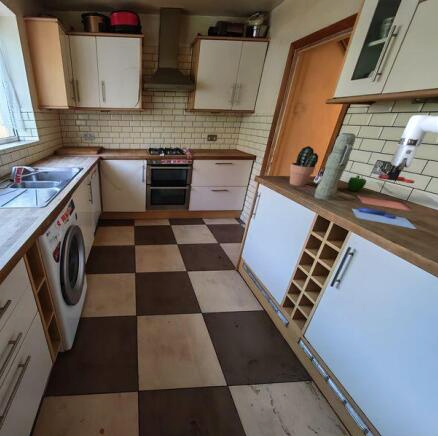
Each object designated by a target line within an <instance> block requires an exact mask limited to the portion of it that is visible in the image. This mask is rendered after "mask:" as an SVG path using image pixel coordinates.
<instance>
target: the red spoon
mask: <svg viewBox="0 0 438 436" xmlns="http://www.w3.org/2000/svg"><path fill="white" fill-rule="evenodd" d="M388 177H389V175H388V174H379V175H378V179H380V180H387V181H389V180H388ZM395 182H401V183H406V184H414V183H415V180H413V179H409V178H405V177H404V176H398V178H397V180H396V181H395Z"/></svg>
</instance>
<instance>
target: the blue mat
mask: <svg viewBox="0 0 438 436" xmlns="http://www.w3.org/2000/svg"><path fill="white" fill-rule="evenodd" d="M351 210H352V212H353V214H354V215H355V217H356V219H362V220H367V221H371V222H376V223H377V222H378V223H383V224H388V225H393V226H398V227H403V228H409V229H414V230H417V227H415V226H414V224H412V223H411V222H410V221H409V220H408V219H407V218H406V217H403V216H402V217H401V216H396V218H395V219H391V218H387V217H384V216H381V215H376V214H370V213H364V212H360V211H358V209H357V208H351Z"/></svg>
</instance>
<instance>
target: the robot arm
mask: <svg viewBox="0 0 438 436" xmlns="http://www.w3.org/2000/svg"><path fill="white" fill-rule="evenodd" d="M427 133H435V134H438V115H430V114H429V115H428V114H415V115H411V117H410V118H409V120H408V122H407V124H406V126H405V128H404V130H403V133H402V134H401V136H400V138H399V140H398V142H397V146H398V147H397V148H396V150H395V152H394V154H393V155H392V158H391V160H390V164H391V166H390V169H389V170H388V172H387V175H389V177H388V180H387V181H393V182H397V181H396V180H397V178H398V177H400V174H401V173H402V171H403V170H404V169H406V168H407V169H408V168H409V167H410V166H411V164H412V162H413V160H414V158H415V156H416V154H417V151H418V148H420V146H421V145H422V142H423V141H424V139H425V136H426V135H427Z"/></svg>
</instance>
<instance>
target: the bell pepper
mask: <svg viewBox="0 0 438 436" xmlns="http://www.w3.org/2000/svg"><path fill="white" fill-rule="evenodd" d="M366 183H367V179H365V178H362V177H361V178H360V175H356V176H351V177H350V178H349V179H348V182H347V189H348V191H351V192H360V191H361V190H362V189H363V188H364V187H365V186H366Z"/></svg>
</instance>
